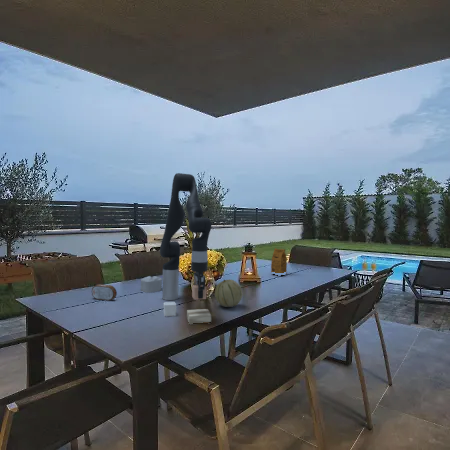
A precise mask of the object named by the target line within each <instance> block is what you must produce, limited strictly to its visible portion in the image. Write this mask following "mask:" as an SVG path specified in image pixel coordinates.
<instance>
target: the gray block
mask: <svg viewBox="0 0 450 450" xmlns="http://www.w3.org/2000/svg"><path fill="white" fill-rule="evenodd" d="M186 319H187V322H189V323H188V325H189V324H190V325H194V324H193V323H203V322H211V323H212V314H211V312H210V310H209V309H208V308H203V309H201V308H198V309H187V310H186Z"/></svg>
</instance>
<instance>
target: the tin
mask: <svg viewBox="0 0 450 450" xmlns="http://www.w3.org/2000/svg"><path fill="white" fill-rule="evenodd" d="M117 294H118V293H117V289H116V287H114V286H113V285H111V284H103V283H98V284H96V285H93V287H92V288H91V296H92V297H93V298H94V299H95V300H99V301H100V300H101V301H112V300H114V299H115V298H116V297H117Z"/></svg>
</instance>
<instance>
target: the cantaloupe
mask: <svg viewBox="0 0 450 450" xmlns="http://www.w3.org/2000/svg"><path fill="white" fill-rule="evenodd" d="M214 296H215V299H216V300H215V301H216V302H217V303H218V304H219V305H220V306H222V307H223V308H232V307H233V306H234V307H236V306H237V305H239V304H240V302H241V300H242V299H243V290H242V287H241V285H240V284H239V283H238V282H237V281H236V280H234V279H223V281H220V282H219V283H218V284H217V285H216V287H215V290H214Z"/></svg>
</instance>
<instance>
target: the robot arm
mask: <svg viewBox="0 0 450 450" xmlns="http://www.w3.org/2000/svg"><path fill="white" fill-rule="evenodd" d="M196 182H197V181H196V177H195V176H194V175H193V174H189V173H181V172H178V173H177V172H176V173H175V175H174V176H173V179H172V186H171V195H170V202H169V206H168V207H169V208H168V211H167V215H166V216H167V217H166V222H165V228H164V232H163V236H162V239H161V243H160V248H159V254H160V256H161V258H171V259H170V260H169V261H168V262H165V263H164V264H163V265H162V300H165V301H174V300H178V299H179V289H180V288H179V282H180V281H179V279H180V278H179V277H180V272H179V271H180V270H179V269H180V258H181V257H180V256H181V246H180V242H179V241H171V240H172V238H173V236H175V235H176V233H178V231H179V230H180V229H181V228H182V226H183V224H184V221H185V216H186V213H185V210H186V211H187V215H188V230H189V231H190V232H191V233H192V234H193V233H194V234H198V233H199V234H200V236H199V237H195V238H193V239H192V241H191V246H192V247H191V264H190V265H191V267H190V268H191V272H193V277H194V278H193V285H197V286H198V298H199V300H203V299H202V298H203V290H204V289H205V286H206V277H205V275H204V272H208V268H209V266H208V261H209V259H208V258H209V255H208V242H209V236H210V234H211V230H212V221H211V219H210V218H208V217H203V215H204V211H203V207H202V205H201V203H200V199H199V194H198V188H197V183H196ZM180 192H187V193H188V192H189V196H188V197H187V199H186V201H185V208H186V209H185V210H184V207H183V205H182V202H181V201H180V195H179V194H180ZM201 285H202V287H200V286H201Z"/></svg>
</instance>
